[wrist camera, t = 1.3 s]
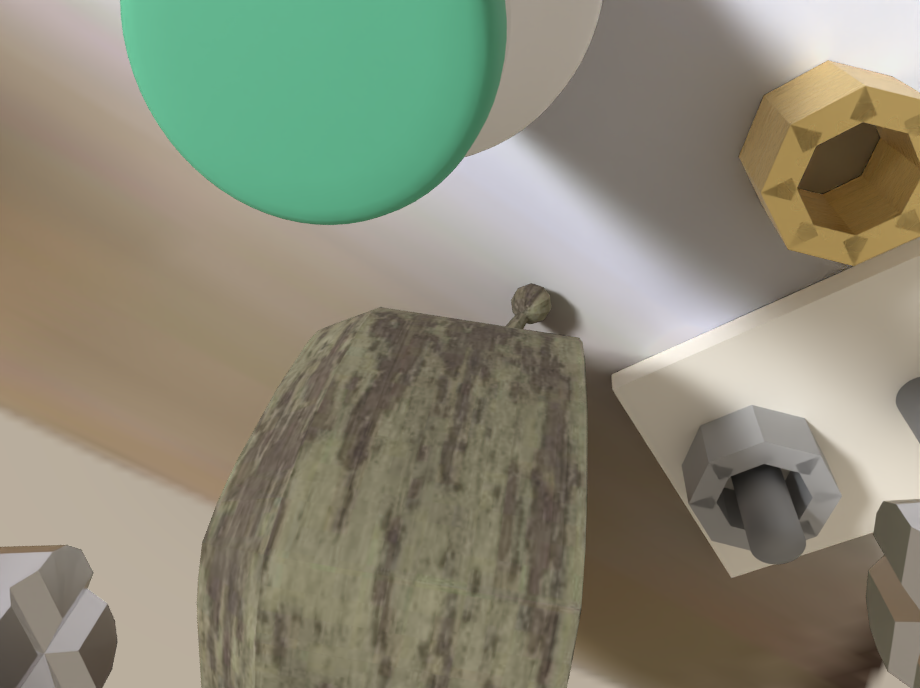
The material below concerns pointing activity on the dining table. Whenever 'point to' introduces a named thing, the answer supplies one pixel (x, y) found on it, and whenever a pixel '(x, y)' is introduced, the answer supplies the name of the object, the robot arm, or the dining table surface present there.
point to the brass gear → (856, 202)
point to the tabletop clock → (406, 512)
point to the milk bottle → (347, 91)
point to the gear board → (792, 414)
